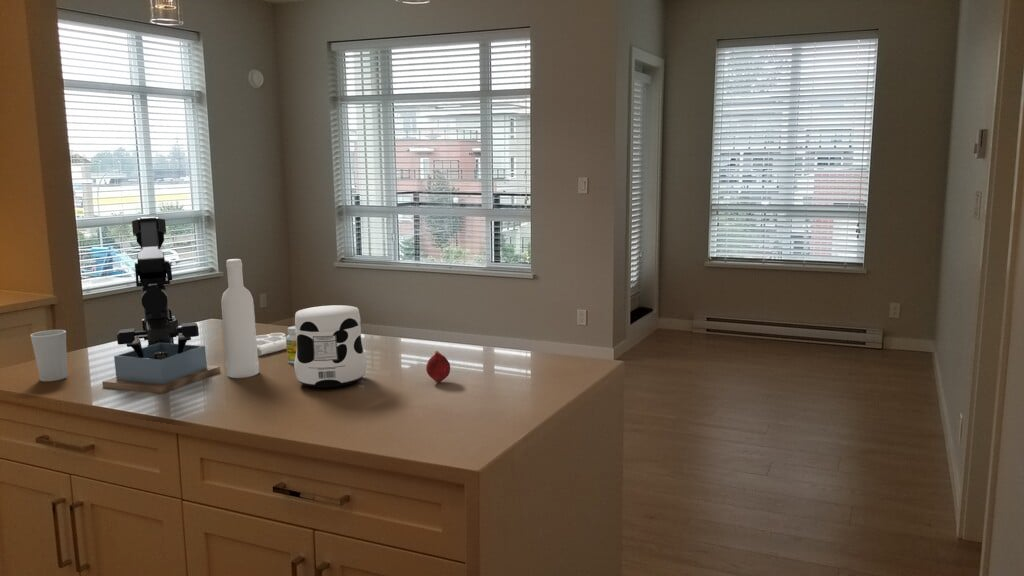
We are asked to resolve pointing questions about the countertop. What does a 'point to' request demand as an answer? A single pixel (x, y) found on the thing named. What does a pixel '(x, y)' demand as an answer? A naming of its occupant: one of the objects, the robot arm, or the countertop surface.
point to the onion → (438, 367)
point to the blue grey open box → (160, 363)
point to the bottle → (239, 325)
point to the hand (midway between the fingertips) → (161, 366)
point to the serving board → (160, 387)
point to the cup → (50, 354)
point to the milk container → (329, 346)
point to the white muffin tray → (270, 343)
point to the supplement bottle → (291, 344)
